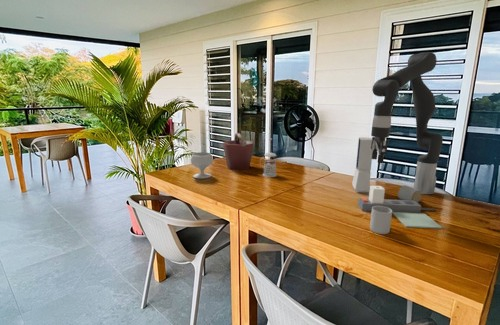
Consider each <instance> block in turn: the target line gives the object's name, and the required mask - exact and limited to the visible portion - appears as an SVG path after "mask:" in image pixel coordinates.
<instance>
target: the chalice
mask: <svg viewBox="0 0 500 325" xmlns="http://www.w3.org/2000/svg"><path fill="white" fill-rule="evenodd" d="M213 161H214V160H213V156H212V154H211V153H210V152H202V151H201V152H200V151H199V152H194V153H192V154H191V158H190V164H191V165H192V166H194V167H196V168H198V169H199V170H200V173H196V174H193V175H192V177H193V178H194V179H199V180H200V179H208V178H211V177H213V176H212V174H211V173H206V172H204V171H205V170H206V169H207V168H208V167H210V166H211V165H212V164H213V163H214V162H213Z"/></svg>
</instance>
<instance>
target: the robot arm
mask: <svg viewBox="0 0 500 325" xmlns="http://www.w3.org/2000/svg"><path fill="white" fill-rule="evenodd" d="M437 62H438V60H437V56H436V54H435V53H434V52H432V51H431V52H430V51H426V52H420V53H416V54H411V55H410V56H409V57H408V59H407V66H406V67H403V68H400V69H399V70H397V71H395V72H394V73H392V74H390V75H387V76H385V77H382V78H380V79H378V80H377V81H376V82H374V84H373V85H372V94H373V95H375V96H376V97H385V98H384V100H382V101H379V102H376V104H375V105H374V112H373V113H374V114H373V118H372V124H371V138H372V143H371V149H372V160H377V164H383V163H384V160H385V158H384V157H385V156H386V155H387V154H388V146H389V145H388V142H389V141H388V140H386V138H388V137H390V135H391V133H390V132H391V127H392V126H391V125H392V114H393V106H394V104H395V101H396V98H397V97H398V94H399V91H400V88H402V87H404V86H405V85H407V83H409V82H410V83H411V84H410V85H411V91H412V99H413V106H414V107H413V108H414V115H415V122H416V123H415V126H416V144H417V147H418V148H419V149H422V150H428V152H427V153H426V154H421V155H419V156H418V157H417V162H416V169H415V177H414V183H413V187H412V188H413V189H416V190H418V191H420V192H421V195H431V194H432V195H434V194H435V190H436V184H437V176H436V173H437V167H438V160H439V158H440V156H441V150H442V147H443V141H444V140H443V139H444V138H443V135H442V134H440V133H437V132H429V130H428V124H429V121H430V120H431V118H432V117H433V115H434V113H435V111H436V98H435V95H434V93H433V91H431V89H430V88H429V87H428V86H427V85H426V84H425V83H424V81H423V78H422V75H424V74H426V73H429V72H432V71H433V70H434V69H435V68H436V66H437Z"/></svg>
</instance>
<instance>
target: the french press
mask: <svg viewBox="0 0 500 325" xmlns="http://www.w3.org/2000/svg"><path fill="white" fill-rule="evenodd" d="M268 140H269V141H270V142H269V145H270V146H269V147H270V148H269V149H270V150H269V152H266V153H265V154H264V156H262V157H260V160H259V165H260V167H261V168H263V173H262V177H267V178H274V177H278V175H277V173H276V172H277V167H276V166H277V162H276V160H275V159H265V158H267V157H269V158H271V157H277V154H276V153H275V152H274V153H273V152H272V150H271V149H272V148H271V146H272V145H271V142H272V140H273V138H271V137H269V139H268ZM263 159H264V163H263V164H264V166H262V164H261V163H262V162H261V161H262V160H263Z"/></svg>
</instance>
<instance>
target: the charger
mask: <svg viewBox="0 0 500 325" xmlns="http://www.w3.org/2000/svg"><path fill="white" fill-rule="evenodd" d="M385 191H386V189H385V188H384V187H383V186H381V185H370V186H369V193H368V199H369V200H370V202H371V203H377V204H383V201H384V199H385V193H386V192H385Z"/></svg>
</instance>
